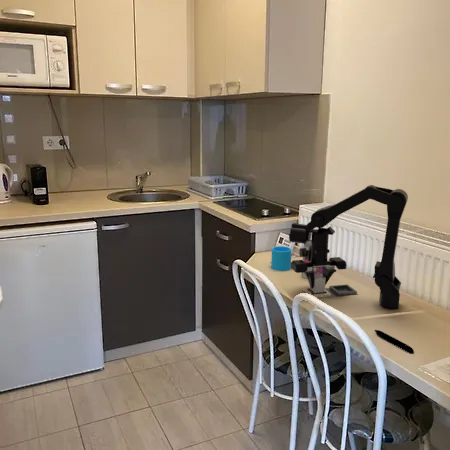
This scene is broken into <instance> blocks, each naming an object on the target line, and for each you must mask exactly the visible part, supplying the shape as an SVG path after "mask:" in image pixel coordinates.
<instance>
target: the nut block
mask: <svg viewBox="0 0 450 450" xmlns="http://www.w3.org/2000/svg"><path fill="white" fill-rule="evenodd" d="M325 280H326V277H324V276H323V273H322V274H314V285H313V289H311V288H310V287H309V288H310V289H309V290H310V291H311V292H312V293H313V294H325V288H326V285H325Z"/></svg>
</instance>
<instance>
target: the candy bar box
mask: <svg viewBox="0 0 450 450" xmlns="http://www.w3.org/2000/svg"><path fill="white" fill-rule="evenodd" d="M311 239H312V235H311ZM310 246H311V240H310V241H308V242H307V244H303V247H302V248H306V250H309V247H310ZM302 260H303V261H304V262H305V263H309V262H310V261H308V260H307V259H304V257H302ZM312 271H313V272H314V273H315V274H322V275H323V269H322V267H316V268H313V270H312ZM301 278H305V279H308V278H307V276H306V274H305V273H304V272H303V273H301Z"/></svg>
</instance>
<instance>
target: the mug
mask: <svg viewBox="0 0 450 450" xmlns="http://www.w3.org/2000/svg"><path fill="white" fill-rule="evenodd" d="M270 262H271V263H270V264H271V267H270V268H271V269H272V270H273V271H276V272H277V271H278V272H279V271H280V272H286V271H290V270H292V269H291V262H292V248H291V247H289V246H284V245H283V246H282V245H279V246H273V247H271V261H270Z"/></svg>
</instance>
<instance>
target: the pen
mask: <svg viewBox="0 0 450 450" xmlns="http://www.w3.org/2000/svg"><path fill="white" fill-rule="evenodd" d="M374 332H375V333H376V335H377V336H378V337H379V338H381V339H382V340H385V341H386V342H388V343H389V344H391V343H392V344H391V345H393V344H394V346H395V345H396V346H395V347H397V346H398V347H397V348H399V347H400V348H399V349H401V348H402V349H401V350H403V351H404V350H405V351H404V352H406V351H407V352H406V353H408V352H409V353H408V354H414V352H415V351H414V348H413V347H411V345H409V344H407V343H404V342H402V340H399V339H397V338H395V337H393V336H392V335H389V334H387V333H386V332H384V331H382V330H379V329H374Z"/></svg>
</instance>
